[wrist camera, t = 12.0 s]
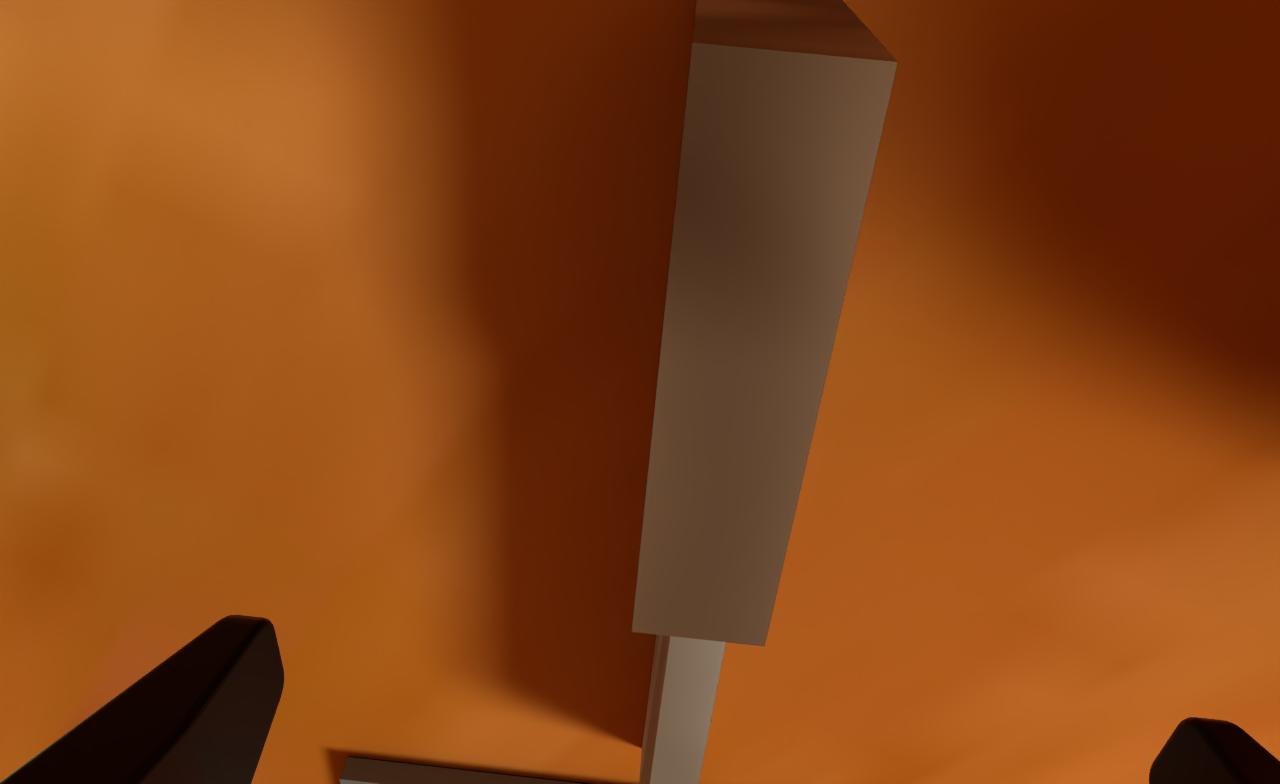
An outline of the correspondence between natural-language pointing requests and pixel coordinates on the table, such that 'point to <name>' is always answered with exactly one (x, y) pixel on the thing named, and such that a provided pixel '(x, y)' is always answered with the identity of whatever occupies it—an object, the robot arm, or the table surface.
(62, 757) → the robot arm
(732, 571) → the brown upright panel
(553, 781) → the grey square plate
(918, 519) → the table surface
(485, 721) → the table surface
